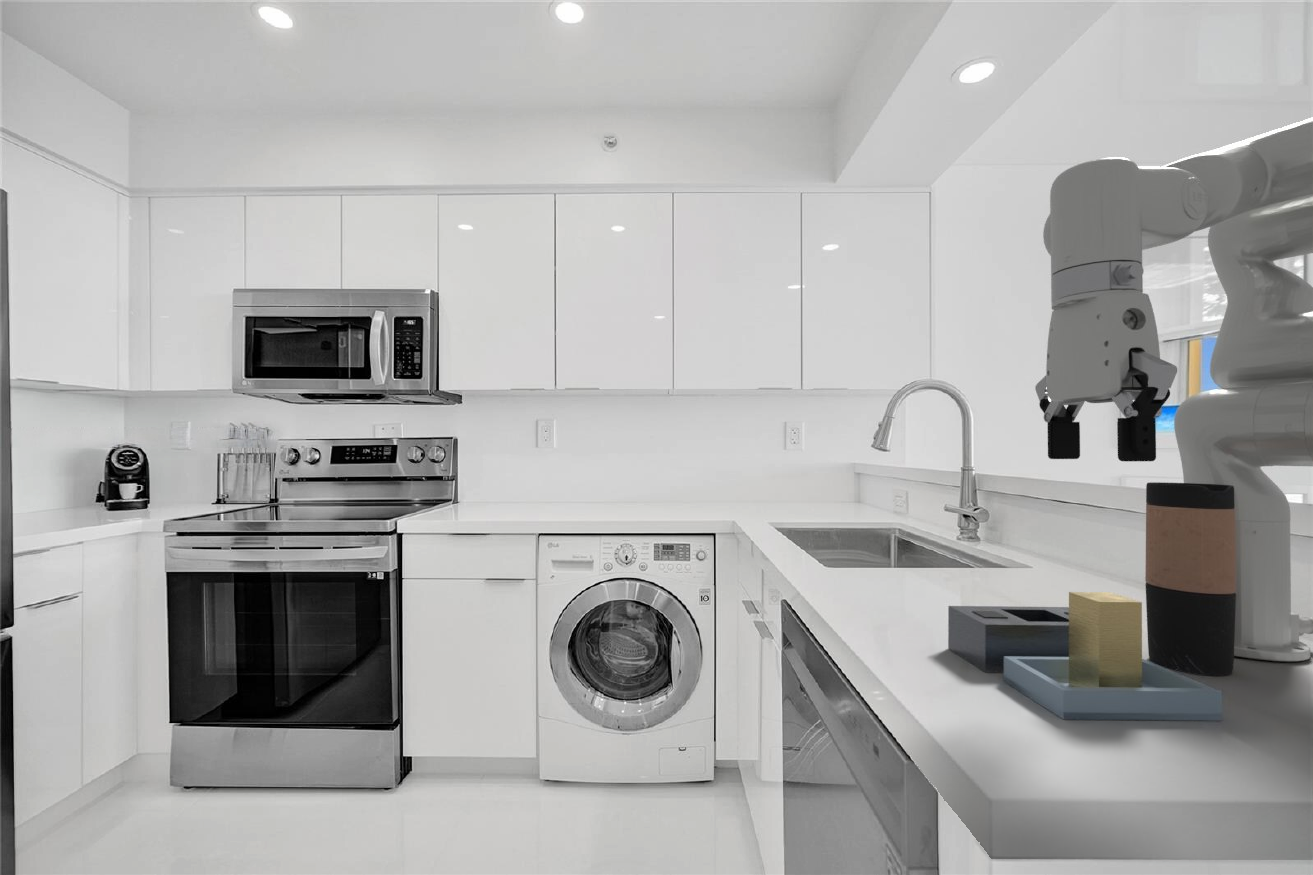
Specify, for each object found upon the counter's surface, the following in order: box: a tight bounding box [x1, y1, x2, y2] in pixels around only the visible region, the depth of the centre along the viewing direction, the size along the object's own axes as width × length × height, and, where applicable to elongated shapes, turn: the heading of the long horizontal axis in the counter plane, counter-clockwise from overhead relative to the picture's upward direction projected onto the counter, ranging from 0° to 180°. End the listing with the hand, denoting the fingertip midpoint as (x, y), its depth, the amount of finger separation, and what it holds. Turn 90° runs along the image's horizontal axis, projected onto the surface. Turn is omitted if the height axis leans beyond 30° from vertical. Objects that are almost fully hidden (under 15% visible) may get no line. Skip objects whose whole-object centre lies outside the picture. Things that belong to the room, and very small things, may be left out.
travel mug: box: [1144, 481, 1236, 677], centre depth 69 cm, size 8×8×20 cm
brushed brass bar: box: [1068, 591, 1143, 688], centre depth 59 cm, size 4×4×9 cm
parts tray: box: [1003, 656, 1223, 722], centre depth 59 cm, size 14×9×2 cm, turn 91°
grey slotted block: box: [947, 605, 1069, 674], centre depth 70 cm, size 16×8×5 cm, turn 91°
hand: (1097, 459), depth 63 cm, fingers open, 9 cm apart
